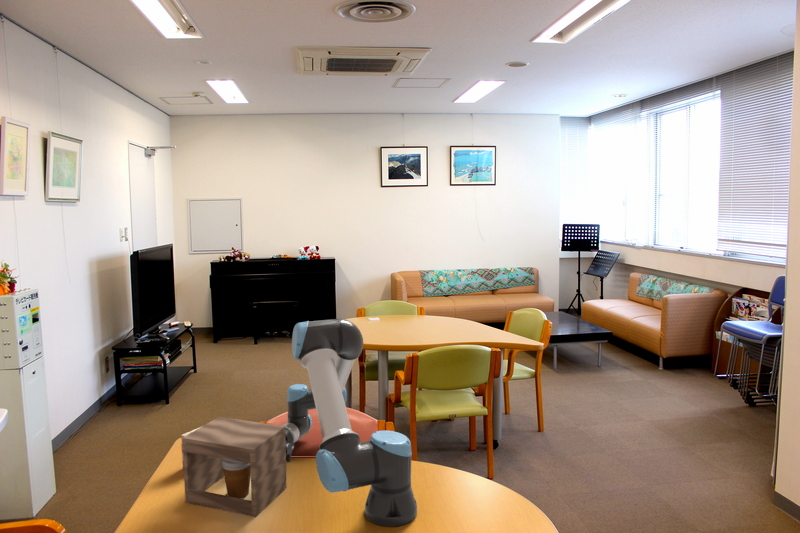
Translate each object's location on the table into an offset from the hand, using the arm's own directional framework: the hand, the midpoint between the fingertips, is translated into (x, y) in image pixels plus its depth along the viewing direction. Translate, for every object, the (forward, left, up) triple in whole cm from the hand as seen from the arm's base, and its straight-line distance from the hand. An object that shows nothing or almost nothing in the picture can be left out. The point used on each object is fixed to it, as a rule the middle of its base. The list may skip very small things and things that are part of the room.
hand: (249, 463), depth 175 cm
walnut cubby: (-3, +6, -6) cm, 10 cm away
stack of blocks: (+24, -2, -7) cm, 25 cm away
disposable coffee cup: (-3, +6, -7) cm, 10 cm away
